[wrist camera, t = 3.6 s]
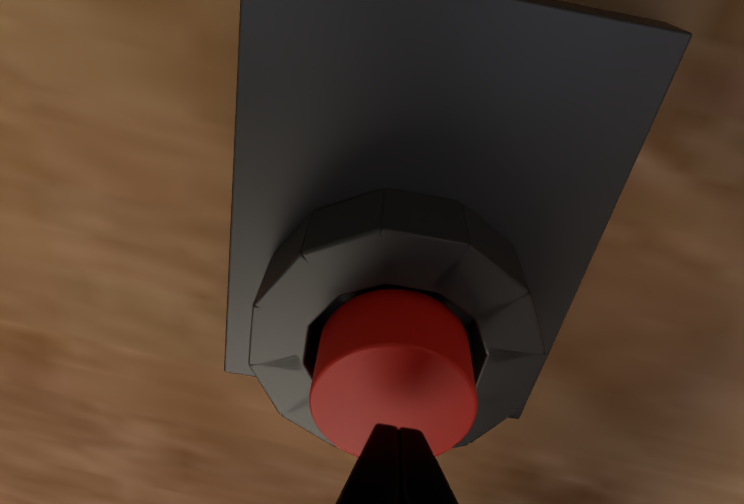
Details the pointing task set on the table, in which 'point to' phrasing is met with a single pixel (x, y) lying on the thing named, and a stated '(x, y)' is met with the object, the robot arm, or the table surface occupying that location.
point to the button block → (429, 172)
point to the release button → (393, 371)
